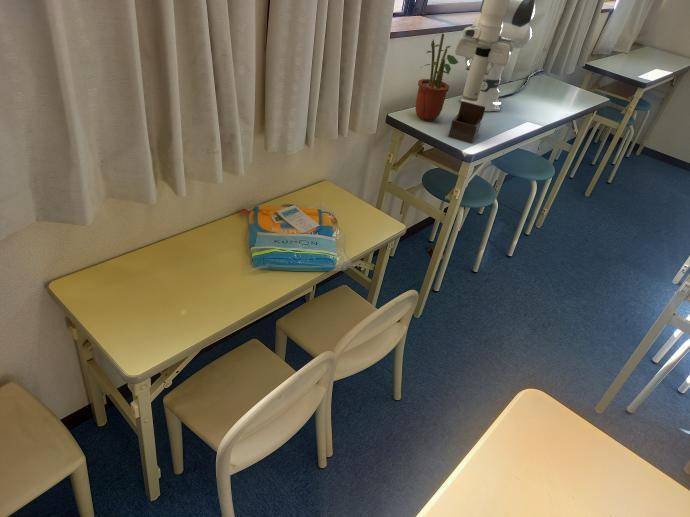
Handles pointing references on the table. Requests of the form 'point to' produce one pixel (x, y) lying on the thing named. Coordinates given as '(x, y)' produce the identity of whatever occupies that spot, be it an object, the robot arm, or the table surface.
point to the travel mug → (476, 74)
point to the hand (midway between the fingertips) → (477, 72)
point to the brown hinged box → (467, 122)
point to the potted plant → (433, 86)
